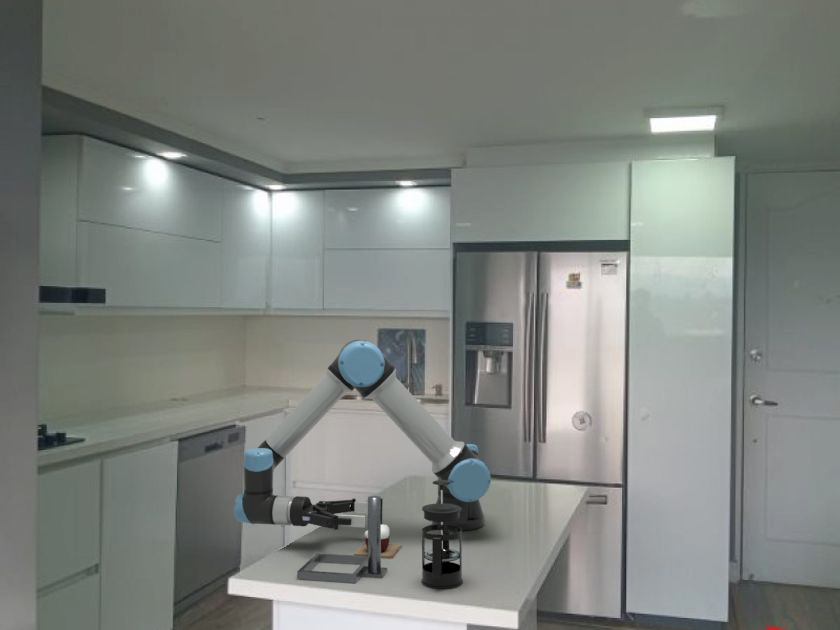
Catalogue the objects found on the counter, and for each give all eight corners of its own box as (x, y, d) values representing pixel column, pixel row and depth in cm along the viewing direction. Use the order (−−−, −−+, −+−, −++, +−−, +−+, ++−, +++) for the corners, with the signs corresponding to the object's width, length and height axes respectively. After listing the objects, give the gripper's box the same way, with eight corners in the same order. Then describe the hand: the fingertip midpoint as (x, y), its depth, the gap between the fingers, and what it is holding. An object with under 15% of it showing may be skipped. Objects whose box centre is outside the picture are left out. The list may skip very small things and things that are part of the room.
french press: (426, 573, 186) (426, 475, 186) (466, 575, 184) (465, 476, 184) (415, 590, 175) (415, 486, 174) (457, 593, 173) (457, 488, 172)
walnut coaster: (401, 546, 207) (401, 544, 207) (392, 558, 197) (392, 556, 197) (364, 544, 209) (364, 542, 209) (354, 556, 199) (354, 553, 199)
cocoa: (380, 558, 197) (380, 510, 196) (358, 553, 200) (358, 507, 199) (397, 546, 205) (397, 500, 205) (376, 542, 208) (376, 497, 207)
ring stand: (391, 565, 192) (391, 490, 192) (377, 584, 178) (376, 504, 178) (317, 560, 196) (316, 487, 196) (297, 579, 182) (296, 501, 182)
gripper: (309, 513, 219) (383, 517, 215) (275, 538, 195) (358, 543, 191) (309, 486, 219) (383, 489, 215) (275, 508, 195) (358, 512, 191)
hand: (372, 514), depth 203 cm, fingers open, 13 cm apart
